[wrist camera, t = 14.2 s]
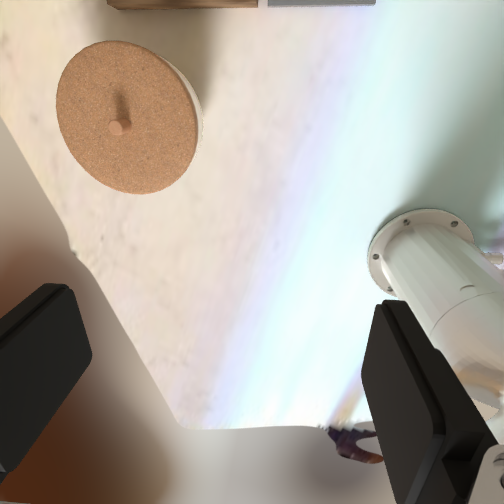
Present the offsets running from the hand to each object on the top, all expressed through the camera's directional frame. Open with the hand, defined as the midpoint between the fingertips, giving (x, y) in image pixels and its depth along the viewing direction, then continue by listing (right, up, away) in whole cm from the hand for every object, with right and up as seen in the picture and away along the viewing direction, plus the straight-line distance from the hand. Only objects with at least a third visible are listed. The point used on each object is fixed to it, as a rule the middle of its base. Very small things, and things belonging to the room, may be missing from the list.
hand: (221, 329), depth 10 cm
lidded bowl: (-9, +18, +26) cm, 33 cm away
